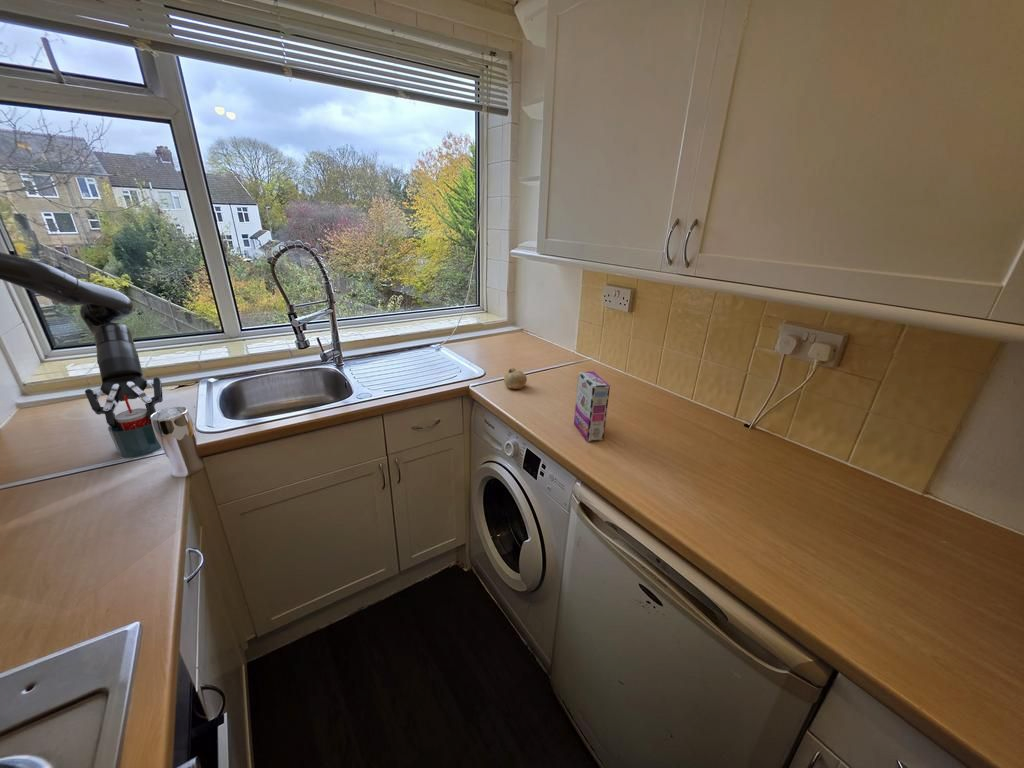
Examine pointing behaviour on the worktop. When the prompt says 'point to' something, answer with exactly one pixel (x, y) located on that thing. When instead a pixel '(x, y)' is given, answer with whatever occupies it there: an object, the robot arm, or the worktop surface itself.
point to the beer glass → (177, 440)
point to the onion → (515, 379)
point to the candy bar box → (591, 406)
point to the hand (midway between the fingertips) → (133, 422)
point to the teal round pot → (134, 440)
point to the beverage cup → (132, 417)
